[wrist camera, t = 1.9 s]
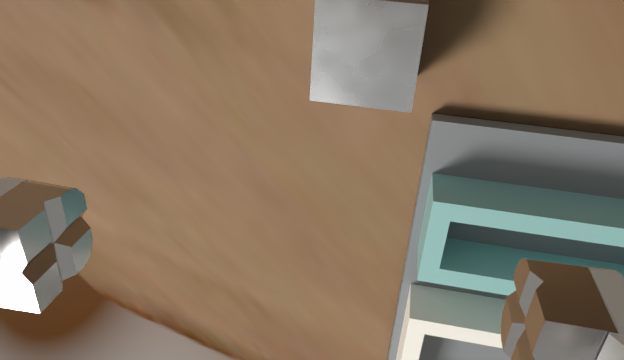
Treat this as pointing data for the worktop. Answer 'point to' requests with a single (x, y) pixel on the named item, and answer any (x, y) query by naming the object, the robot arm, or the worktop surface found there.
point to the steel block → (367, 52)
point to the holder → (500, 227)
